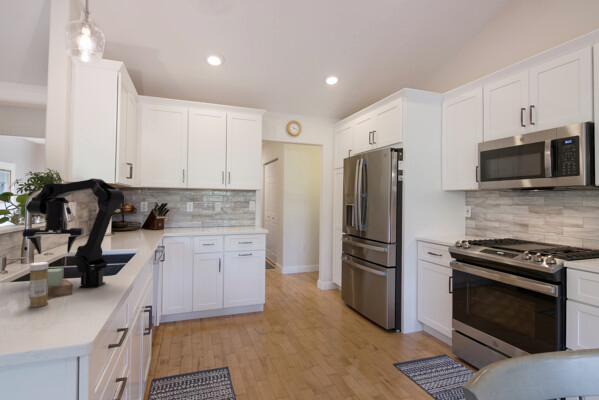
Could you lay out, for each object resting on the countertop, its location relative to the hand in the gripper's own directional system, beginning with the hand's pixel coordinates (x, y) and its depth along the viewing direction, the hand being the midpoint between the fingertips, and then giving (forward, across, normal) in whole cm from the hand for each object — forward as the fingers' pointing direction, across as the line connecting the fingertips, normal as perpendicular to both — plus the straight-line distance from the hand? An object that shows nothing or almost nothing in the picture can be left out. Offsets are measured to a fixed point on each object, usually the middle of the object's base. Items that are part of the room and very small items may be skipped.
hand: (54, 253), depth 123 cm
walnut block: (+12, -4, +17) cm, 21 cm away
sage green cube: (+8, -4, +17) cm, 19 cm away
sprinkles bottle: (+12, -4, +30) cm, 32 cm away
